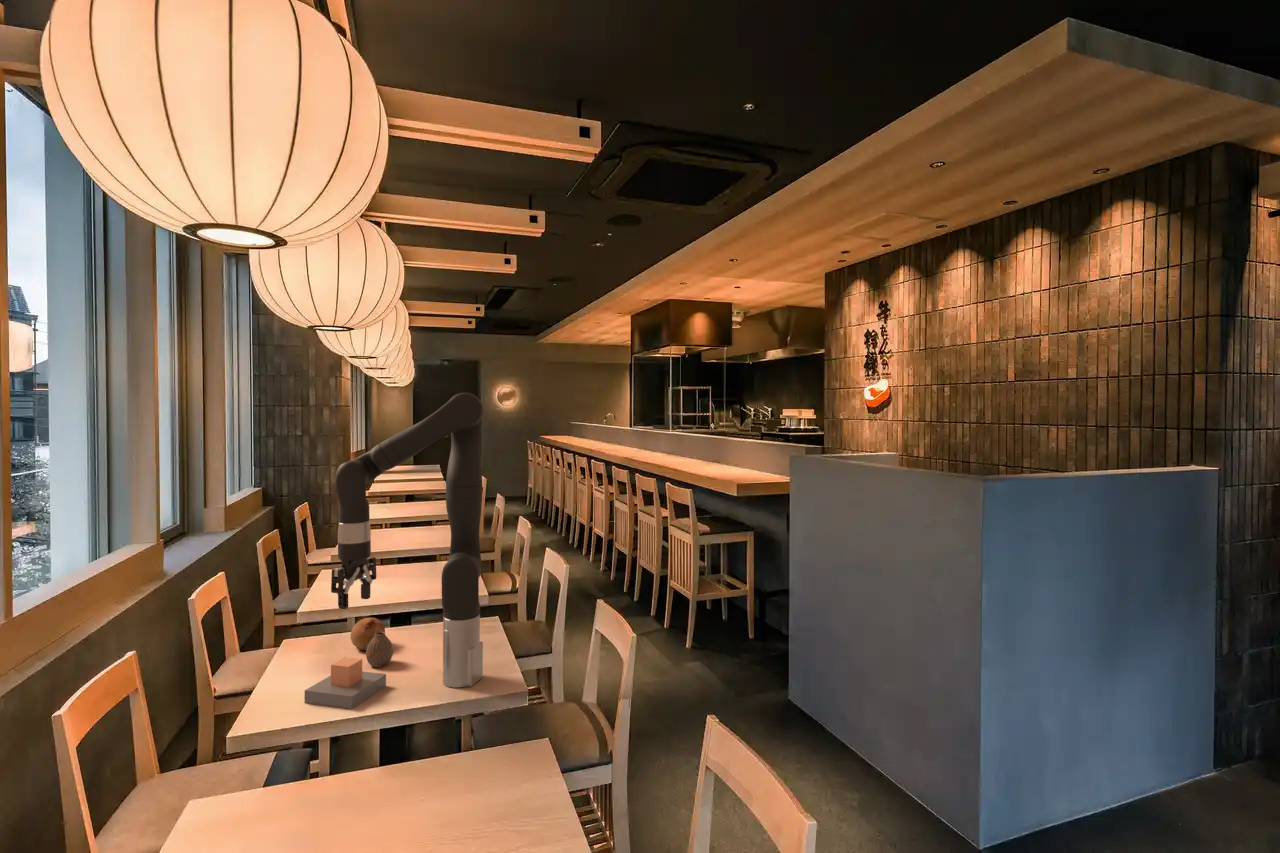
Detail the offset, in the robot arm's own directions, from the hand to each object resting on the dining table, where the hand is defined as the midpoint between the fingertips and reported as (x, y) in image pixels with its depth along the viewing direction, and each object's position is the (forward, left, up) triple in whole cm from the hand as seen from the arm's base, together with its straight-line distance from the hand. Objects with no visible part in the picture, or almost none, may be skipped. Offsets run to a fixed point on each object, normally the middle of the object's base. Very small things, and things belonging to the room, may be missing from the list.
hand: (354, 603), depth 156 cm
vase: (+3, -15, -22) cm, 27 cm away
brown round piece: (+14, -25, -22) cm, 36 cm away
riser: (0, +3, -22) cm, 22 cm away
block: (0, +3, -19) cm, 19 cm away
